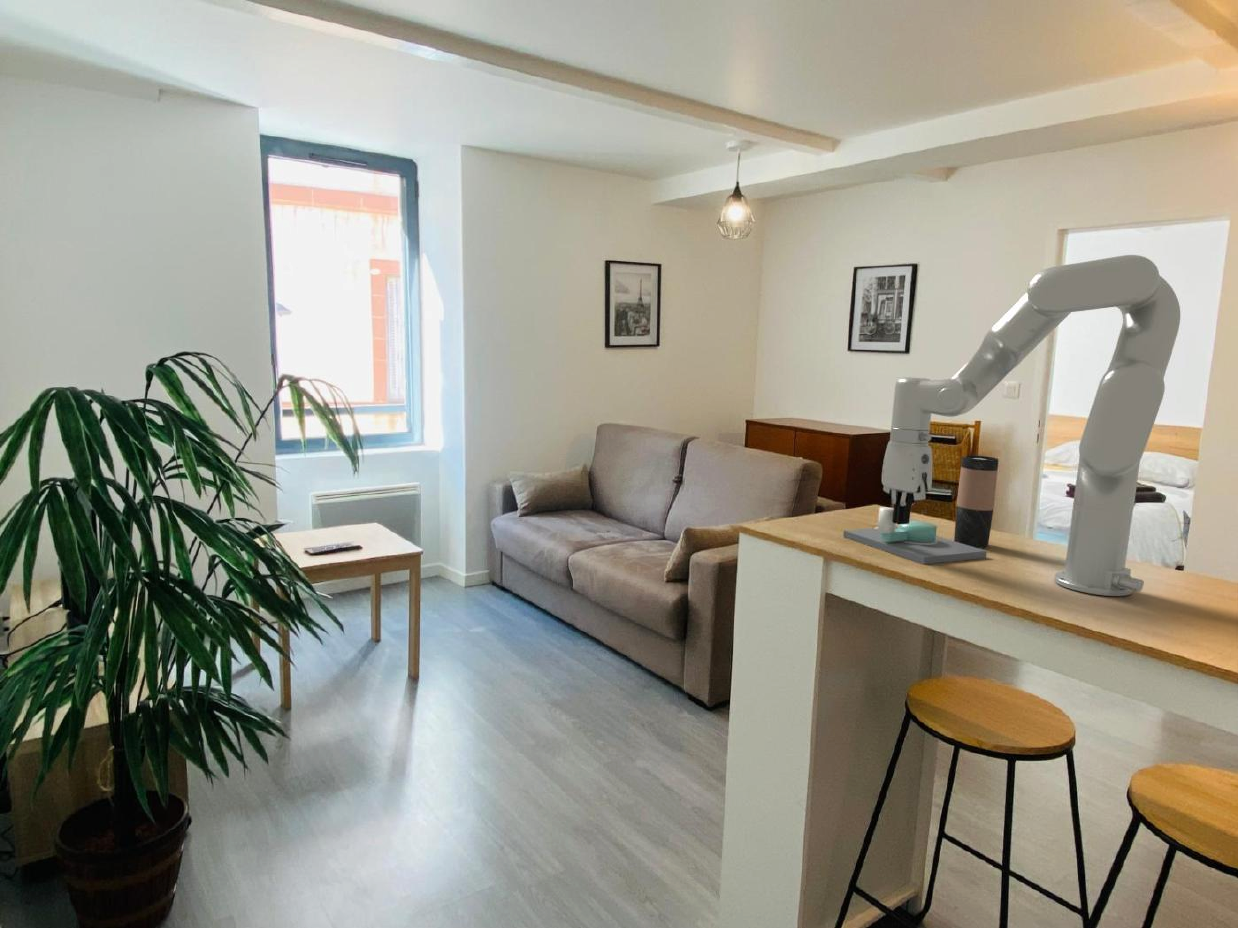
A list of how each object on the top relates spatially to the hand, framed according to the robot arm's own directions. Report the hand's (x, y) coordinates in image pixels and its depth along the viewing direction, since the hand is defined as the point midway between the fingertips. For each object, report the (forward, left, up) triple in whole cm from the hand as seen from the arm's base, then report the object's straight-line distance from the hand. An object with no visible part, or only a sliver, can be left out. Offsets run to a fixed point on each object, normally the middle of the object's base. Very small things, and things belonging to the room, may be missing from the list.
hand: (900, 523), depth 165 cm
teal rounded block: (+4, -6, -5) cm, 8 cm away
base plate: (+4, -8, -7) cm, 11 cm away
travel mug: (+2, -24, -7) cm, 25 cm away
